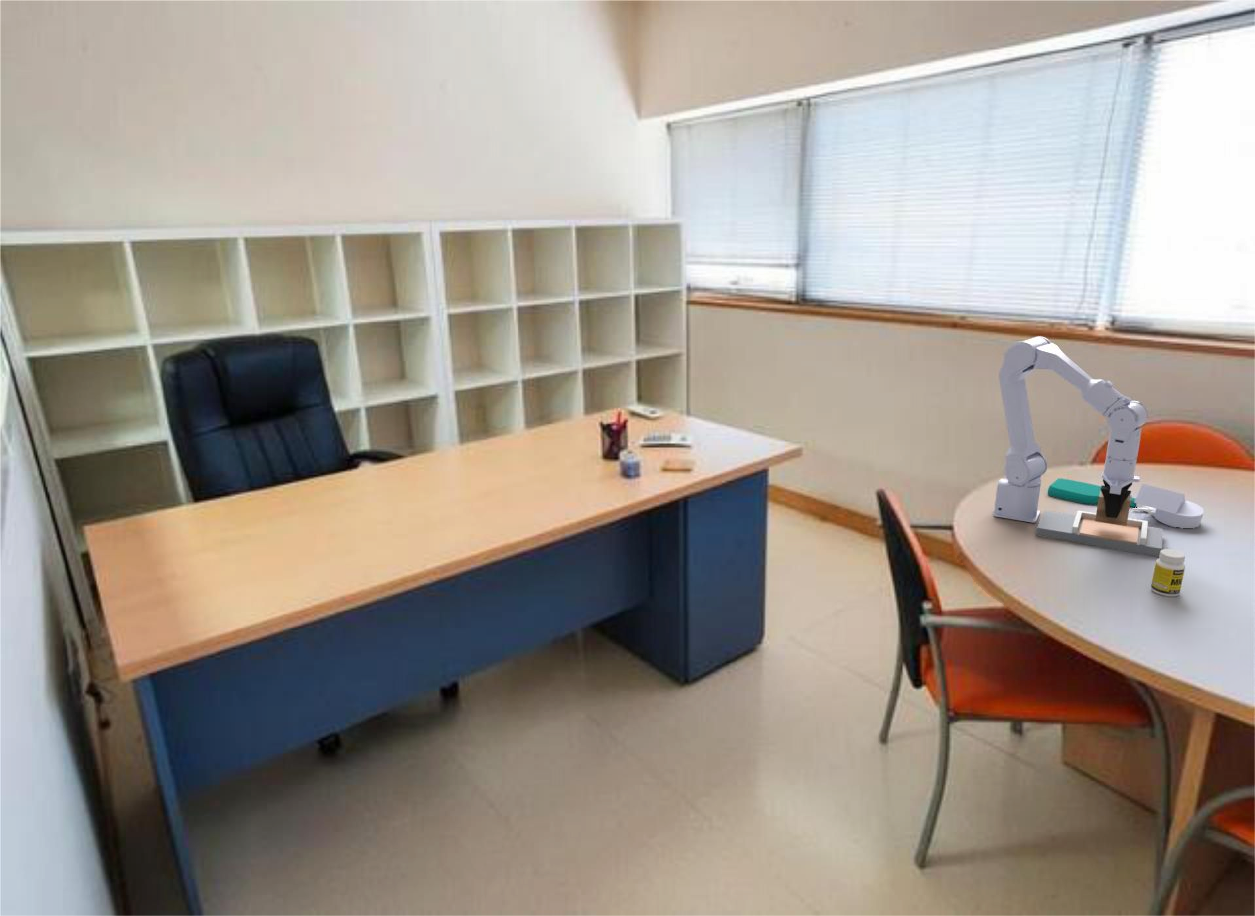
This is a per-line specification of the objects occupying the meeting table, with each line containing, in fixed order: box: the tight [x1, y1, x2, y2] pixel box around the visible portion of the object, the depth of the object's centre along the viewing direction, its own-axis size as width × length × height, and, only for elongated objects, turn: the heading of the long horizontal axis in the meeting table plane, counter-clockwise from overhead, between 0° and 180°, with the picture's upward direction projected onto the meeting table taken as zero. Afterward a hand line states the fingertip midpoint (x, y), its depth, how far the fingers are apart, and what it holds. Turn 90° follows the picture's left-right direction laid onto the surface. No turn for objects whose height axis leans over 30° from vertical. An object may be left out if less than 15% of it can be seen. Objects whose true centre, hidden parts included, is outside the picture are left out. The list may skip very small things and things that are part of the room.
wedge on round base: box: [1134, 483, 1205, 529], centre depth 178 cm, size 9×7×13 cm
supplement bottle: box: [1150, 548, 1186, 598], centre depth 147 cm, size 5×5×8 cm
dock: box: [1035, 509, 1164, 557], centre depth 172 cm, size 24×12×4 cm, turn 55°
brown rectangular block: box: [1095, 491, 1132, 526], centre depth 169 cm, size 6×4×6 cm, turn 55°
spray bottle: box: [1047, 477, 1156, 517], centre depth 192 cm, size 3×11×24 cm
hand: (1112, 513), depth 169 cm, fingers closed on brown rectangular block, 4 cm apart
